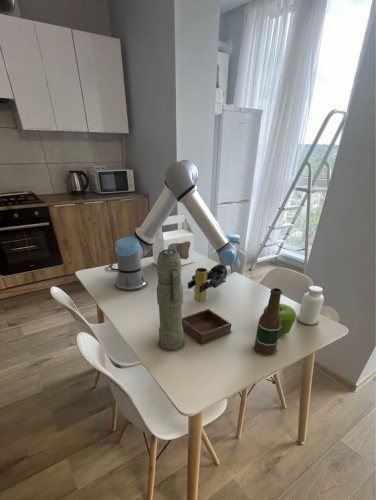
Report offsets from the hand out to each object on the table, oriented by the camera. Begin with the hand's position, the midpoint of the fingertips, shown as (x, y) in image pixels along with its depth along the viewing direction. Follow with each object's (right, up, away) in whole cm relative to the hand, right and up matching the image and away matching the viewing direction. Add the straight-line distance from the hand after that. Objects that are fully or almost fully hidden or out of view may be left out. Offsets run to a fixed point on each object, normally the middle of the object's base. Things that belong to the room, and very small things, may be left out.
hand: (194, 287), depth 126 cm
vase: (+3, -4, +8) cm, 9 cm away
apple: (+33, -19, -10) cm, 39 cm away
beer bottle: (+26, -26, -20) cm, 42 cm away
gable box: (-12, +25, +55) cm, 62 cm away
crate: (+4, -19, -9) cm, 21 cm away
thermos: (-9, -24, -18) cm, 31 cm away
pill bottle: (+49, -15, -2) cm, 51 cm away
